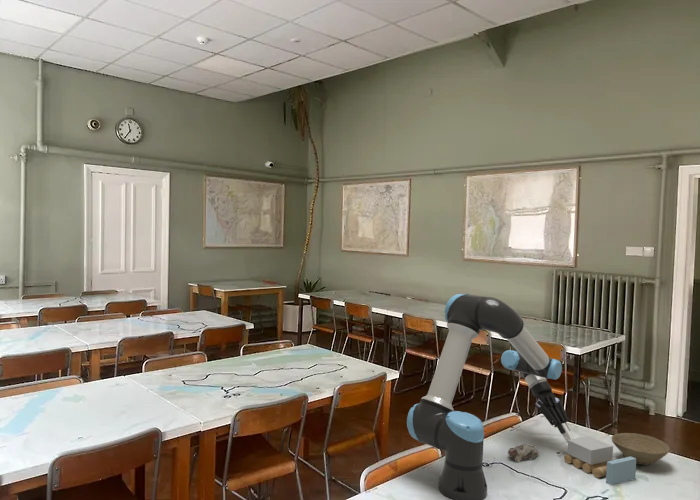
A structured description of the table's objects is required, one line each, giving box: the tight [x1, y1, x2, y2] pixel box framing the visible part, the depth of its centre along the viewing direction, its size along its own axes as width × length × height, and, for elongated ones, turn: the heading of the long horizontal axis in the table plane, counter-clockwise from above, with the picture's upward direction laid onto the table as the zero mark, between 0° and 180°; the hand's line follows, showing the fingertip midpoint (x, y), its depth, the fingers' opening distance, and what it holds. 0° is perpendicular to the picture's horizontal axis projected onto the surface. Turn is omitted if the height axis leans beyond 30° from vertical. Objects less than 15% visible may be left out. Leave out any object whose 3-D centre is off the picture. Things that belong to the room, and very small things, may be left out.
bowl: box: [611, 432, 671, 466], centre depth 188 cm, size 18×18×8 cm
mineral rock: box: [507, 443, 540, 463], centre depth 190 cm, size 15×8×4 cm, turn 110°
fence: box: [605, 456, 637, 486], centre depth 173 cm, size 12×2×7 cm, turn 115°
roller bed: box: [563, 454, 613, 478], centre depth 183 cm, size 12×15×3 cm
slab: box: [566, 435, 614, 465], centre depth 184 cm, size 11×10×5 cm
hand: (570, 441), depth 192 cm, fingers closed
